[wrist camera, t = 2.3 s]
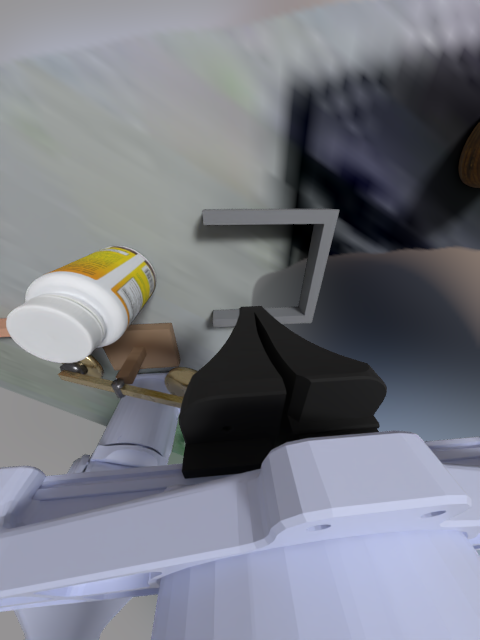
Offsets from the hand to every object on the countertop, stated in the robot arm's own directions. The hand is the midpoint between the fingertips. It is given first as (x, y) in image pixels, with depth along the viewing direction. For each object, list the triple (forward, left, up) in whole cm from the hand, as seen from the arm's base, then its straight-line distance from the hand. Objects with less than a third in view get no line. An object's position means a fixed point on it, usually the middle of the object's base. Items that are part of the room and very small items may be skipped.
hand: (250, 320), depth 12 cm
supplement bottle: (0, +11, -10) cm, 15 cm away
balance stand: (-9, +12, -9) cm, 18 cm away
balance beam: (-9, +11, -5) cm, 15 cm away
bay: (0, -2, -9) cm, 10 cm away
